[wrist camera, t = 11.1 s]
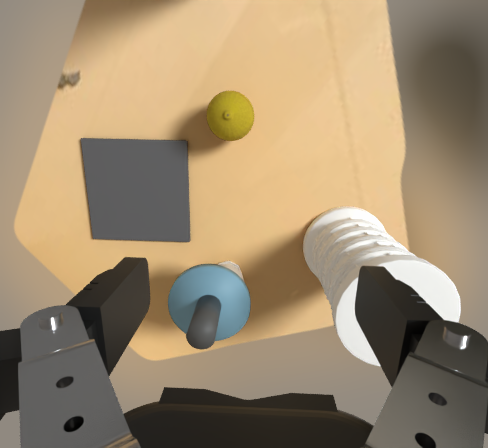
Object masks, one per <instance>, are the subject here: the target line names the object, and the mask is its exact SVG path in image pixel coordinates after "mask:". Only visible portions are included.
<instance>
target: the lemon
mask: <svg viewBox="0 0 488 448" xmlns="http://www.w3.org/2000/svg"><path fill="white" fill-rule="evenodd" d="M207 122H208V125H209V127H210V129H211V131H212V132H213V133H214V134H215V135H216V136H217V137H219V138H221V139H223V140H227V141H235V140H238V139H241V138H243V137H244V136H245V135H247V134H248V132H249V131H250V130H251V128H252V125H253V122H254V110H253V107H252V105H251V103H250V101H249V100H248V99H247V98H246V97H245V96H244V95H242V94H241V93H239V92H236V91H225V92H221V93H219V94H218V95H216V96H215V97H214V98H213V99H212V100H211V102H210V104H209V105H208V109H207Z"/></svg>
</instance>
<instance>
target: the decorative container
mask: <svg viewBox="0 0 488 448" xmlns="http://www.w3.org/2000/svg"><path fill="white" fill-rule="evenodd" d="M303 253H304V258H305V261H306V263H307V265H308V267H309V268H310V270H311V271H312V272H313V273H314V275H315V276H316V277H317V278H319V281H320V282H321V286H322V287H323V289H324V290H325V291H324V293H325V295H326V296H327V299H328V300H329V303H330V305H331V309H332V316H333V321H334V326H335V328H336V331H337V334H338V336H339V338H340V340H341V341H342V343H343V345H344V347H346V349H348V350H349V352H350V353H351V354H353V355H354V356H355V357H357V358H359V359H361V360H362V361H364V362H366V363H369V364H373V365H377V366H380V364H379V362H378V360H377V358H376V356H375V354H374V352H373V350H372V349H371V347H370V345H369V343H368V341H367V339H366V337H365V335H364V333H363V331H362V330H361V328H360V326H359V324H358V322H357V320H356V316H355V298H356V291H357V284H358V277H359V271H360V268H361V266H383V267H385V268H386V269H387V270H388V271H389V272H390V274H391V275H392V276H393V277H394V278H395V279H396V280H400V281H402V282H404V283H405V284H407V285H409V286H411V287H412V288H413V289H414V290H415V291H416V292H417V293H418V294H419V296H421V297H422V298H423V299H424V300H425V301H426V303H428V304H429V305H430V306H431V307H432V308H433V309H434V310H435V311H436V312H437V313H438V314H439V315H440V316H441V317H442V318H443V319H444V320H448V321H453V322H457V323H458V321H459V317H460V313H461V308H460V307H461V306H460V297H459V294H458V292H457V290H456V287H455V284H454V283H453V282H452V281H451V280H450V279H449V277H448V276H447V275H446V274H445V273H444V272H443V271H441V270H440V269H439V268H437V267H436V266H434V265H432V264H431V263H429V262H428V261H426V260H424V259H421V258H418V257H416V256H415V255H414V254H412V253H410V252H409V251H408V250H407V249H406V248H405V247H404V246H403V245H401V244H400V243H399V242H397V241H395V240H394V238H393V237H391V236H390V235H389V234H387V233H386V231H385V229H384V226H383V225H382V224H381V222H380V221H379V220H378V219H377V218H376V217H375V216H373V215H372V214H370V213H369V212H367V211H366V210H364V209H361V208H357V207H354V206H341V207H336V208H332V209H330V210H328V211H326V212H324V213H322V214H321V215H319V216H318V217H317V218H316V219H315V220H313V222H312V223H311V225H310V226H309V227H308V229H307V231H306V234H305V236H304V240H303ZM380 367H381V366H380Z"/></svg>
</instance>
